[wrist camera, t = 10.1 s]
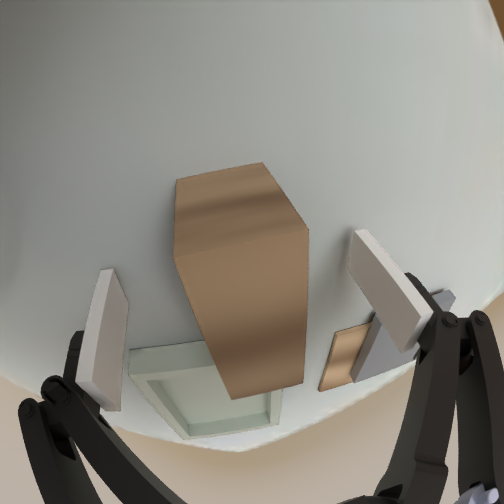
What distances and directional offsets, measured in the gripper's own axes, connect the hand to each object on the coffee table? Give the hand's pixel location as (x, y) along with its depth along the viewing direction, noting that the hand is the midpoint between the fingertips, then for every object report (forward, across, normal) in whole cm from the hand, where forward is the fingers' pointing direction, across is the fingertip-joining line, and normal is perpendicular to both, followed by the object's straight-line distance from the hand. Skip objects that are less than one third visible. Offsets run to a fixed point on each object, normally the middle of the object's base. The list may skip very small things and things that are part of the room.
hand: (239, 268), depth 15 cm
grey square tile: (0, +15, -8) cm, 17 cm away
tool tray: (+1, -3, -15) cm, 15 cm away
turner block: (+1, 0, 0) cm, 1 cm away
